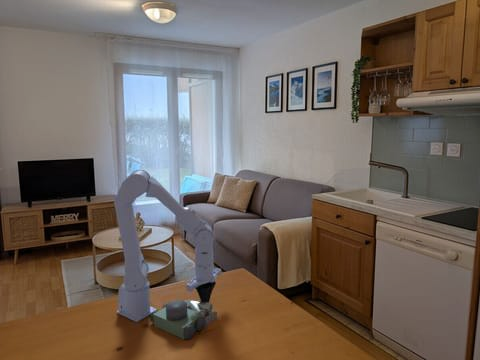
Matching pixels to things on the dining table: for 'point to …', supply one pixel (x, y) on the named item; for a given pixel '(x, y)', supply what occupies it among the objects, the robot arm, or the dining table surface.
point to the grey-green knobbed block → (180, 319)
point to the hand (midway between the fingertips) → (205, 303)
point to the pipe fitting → (200, 307)
